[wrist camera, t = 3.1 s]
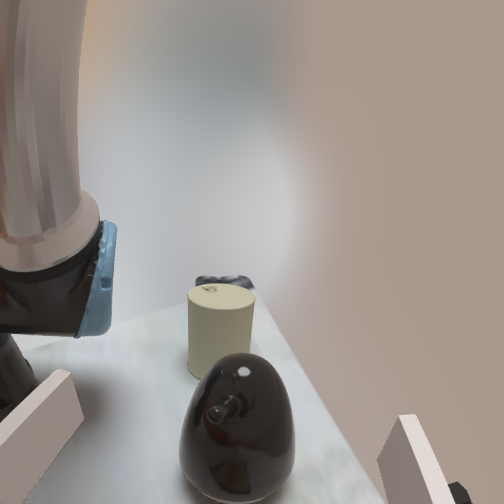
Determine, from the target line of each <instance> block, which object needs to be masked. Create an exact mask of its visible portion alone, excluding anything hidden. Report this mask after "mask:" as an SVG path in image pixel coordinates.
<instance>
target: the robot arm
mask: <svg viewBox="0 0 504 504" xmlns="http://www.w3.org/2000/svg"><path fill="white" fill-rule="evenodd" d="M87 2H88V0H0V504H22V503H23V501H24V500H25V498H26V497H27V496H28V494H29V493H30V492H31V490H32V489H33V487H34V486H35V485H36V483H37V482H38V481H39V479H40V478H41V476H42V475H43V474H44V472H45V471H46V470H47V468H48V467H49V466H50V464H51V463H52V462H53V460H54V459H55V458H56V456H57V455H58V454H59V452H60V451H61V450H62V448H63V447H64V446H65V444H66V443H67V442H68V440H69V439H70V438H71V436H72V435H73V434H74V432H75V431H76V430H77V428H78V427H79V426H80V424H81V423H82V422H83V421H84V416H83V412H82V409H81V406H80V403H79V399H78V396H77V392H76V389H75V385H74V382H73V378H72V374H71V372H68V371H65V370H62V369H59V368H57V369H56V370H55V371H54V372H53V373H52V374H51V375H50V376H49V377H48V378H47V379H45V380H44V381H43V382H42V383H41V384H40V385H39V386H38V384H37V381H36V378H35V375H34V372H33V369H32V367H31V365H30V364H29V362H28V361H27V360H26V359H25V358H24V357H23V356H22V353H21V351H20V349H19V348H18V346H17V344H16V342H15V341H14V339H13V337H12V336H11V334H25V335H43V336H61V337H73V338H80V337H81V336H99V335H102V334H104V333H106V332H107V331H108V329H109V328H110V325H111V316H112V290H113V272H114V257H115V245H116V235H117V234H116V233H117V227H116V225H115V224H114V223H112V222H108V221H106V220H104V221H101V222H100V217H99V210H98V206H97V204H96V202H95V200H94V199H93V198H92V197H91V196H90V195H89V194H87V193H86V192H85V191H82V190H81V189H80V179H79V164H78V138H77V102H78V100H77V99H78V79H79V64H80V53H81V42H82V34H83V27H84V20H85V13H86V7H87ZM377 461H378V465H379V469H380V473H381V476H382V480H383V484H384V488H385V492H386V495H387V499H388V504H472V503H471V500H470V497H469V495H468V493H467V490H466V489H465V488H464V487H463V486H462V485H461V484H459V483H458V482H455V483H451V484H447V483H446V480H445V478H444V476H443V473H442V471H441V468H440V466H439V464H438V462H437V460H436V457H435V455H434V453H433V451H432V449H431V446H430V444H429V442H428V440H427V438H426V436H425V434H424V432H423V429H422V427H421V425H420V424H419V421H418V419H417V417H416V415H415V414H412V415H399V416H398V418H397V420H396V422H395V425H394V426H393V428H392V431H391V433H390V435H389V437H388V439H387V441H386V443H385V445H384V447H383V449H382V451H381V453H380V455H379V456H378V459H377Z"/></svg>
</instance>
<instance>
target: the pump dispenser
mask: <svg viewBox="0 0 504 504" xmlns="http://www.w3.org/2000/svg"><path fill="white" fill-rule="evenodd" d="M294 459H295V427H294V420H293V414H292V408H291V404H290V400H289V396H288V393H287V390H286V388H285V385H284V383H283V381H282V379H281V377H280V376H279V374H278V372H277V371H276V370H275V368H274V367H273V366H272V365H271V364H270V363H269V362H268V361H267V360H265V359H264V358H262V357H260V356H258V355H255V354H251V353H233V354H229V355H227V356H224V357H222V358H221V359H219V360H218V361H217V362H215V363H214V364H213V365H212V366H211V367H210V368H209V370H208V371H207V372H206V373H205V374H204V376H203V377H202V379H201V380H200V382H199V384H198V386H197V387H196V389H195V391H194V394H193V396H192V398H191V401H190V404H189V406H188V409H187V412H186V415H185V418H184V422H183V426H182V430H181V436H180V443H179V461H180V466H181V469H182V471H183V473H184V475H185V477H186V478H187V480H188V481H189V482H190V483H191V484H192V485H193V486H194V487H195V488H197V489H198V490H199V491H200V492H201V493H203V494H204V495H206V496H207V497H209V498H211V499H213V500H215V501H218V502H221V503H226V504H250V503H254V502H257V501H260V500H262V499H264V498H266V497H267V496H269V495H271V494H273V493H274V492H276V491H277V490H279V489H280V488H281V487H282V486H283V485H284V484H285V483H286V481H287V480H288V478H289V476H290V474H291V472H292V469H293V465H294Z"/></svg>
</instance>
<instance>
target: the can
mask: <svg viewBox="0 0 504 504" xmlns="http://www.w3.org/2000/svg"><path fill="white" fill-rule="evenodd" d="M187 296H188V369H189V371H190V372H191V373H192V374H193V375H194V376H195V377H197V378H198V379H200V380H201V379H202V377H203V376H204V374H205V373H206V372H207V371H208V370H209V368H210V367H211V366H212V365H213V364H214V363H215V362H217V361H218V360H219V359H221V358H222V357H224V356H227V355H229V354H233V353H249V352H250V341H251V331H252V320H253V311H254V303H255V296H254V294H253V293H252V292H251V291H249V290H247V289H245V288H242V287H239V286H235V285H229V284H205V285H200V286H197V287H194V288H193V289H191V290H190V291H189V292H188V295H187Z"/></svg>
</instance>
